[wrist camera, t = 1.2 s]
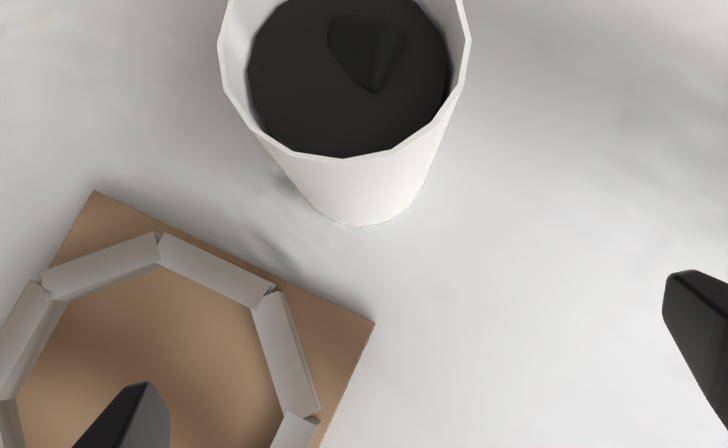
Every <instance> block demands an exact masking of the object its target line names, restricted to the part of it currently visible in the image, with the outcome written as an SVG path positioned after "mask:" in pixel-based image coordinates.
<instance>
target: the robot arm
mask: <svg viewBox="0 0 728 448" xmlns="http://www.w3.org/2000/svg"><path fill="white" fill-rule="evenodd" d="M662 315H663V319H664V322H665V324H666V326H667V328H668V330H669V331H670V333H671V335H672V337H673V339H674V341H675V343H676V344H677V346H678V348H679V350H680V352H681V354H682V355H683V357H684V359H685V361H686V363H687V365H688V366H689V368H690V370H691V372H692V374H693V376H694V378H695V379H696V381H697V383H698V385H699V387H700V388H701V390H702V392H703V394H704V395H705V397H706V399H707V400H708V402H709V403H710V405H711V407H712V408H713V410H714V411H715V413H716V414H717V415H718V417H719V418H720V420H721V421H722V423H723V424H724V426H725V427H726V429H727V430H728V283H726V282H723V281H721V280H719V279H716V278H714V277H712V276H709V275H707V274H705V273H702V272H700V271H697V270H686V271H681V272H676V273H672V274H670V275H669V276H668V278H667V280H666V285H665V292H664V298H663V305H662ZM170 427H171V421H170V415H169V411H168V409H167V407H166V405H165V404H164V402H163V400H162V398H161V396H160V395H159V393H158V391H157V389H156V387H155V386H154V384H153V383H152V382H150V381H142V382H137V383H133V384H129V385H126V386H125V387H124V388H123V389H122V390H121V391H120V392H119V393H118V394H117V395H116V396H115V398H114V399H113V400H112V401H111V402H110V403H109V404H108V406H107V407H106V408H105V409H104V410H103V411H102V413H101V414H100V415H99V416H98V417H97V418H96V419H95V421H94V422H93V423H92V424H91V425H90V426H89V428H88V429H87V430H86V431H85V432H84V433H83V434H82V436H81V437H80V438H79V439H78V440H77V441H76V443H75V444H74V445H73V446H72V447H71V448H170Z"/></svg>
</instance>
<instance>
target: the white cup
mask: <svg viewBox="0 0 728 448" xmlns="http://www.w3.org/2000/svg"><path fill="white" fill-rule="evenodd" d="M471 42H472V39H471V35H470V31H469V27H468V23H467V20H466V16H465V12H464V8H463V4H462V0H229V1H228V4H227V8H226V12H225V15H224V19H223V23H222V26H221V30H220V33H219V37H218V41H217V44H216V45H217V52H218V58H219V65H220V71H221V78H222V84H223V90H224V92H225V93H226V95H227V96H228V98H229V99H230V101H231V102H232V104H233V105H234V107H235V108H236V110H237V111H238V113H239V114H240V116H241V117H242V119H243V120H244V122H245V123H246V125H247V126H248V128H249V129H250V131H251V132H252V133H253V134H254V136H255V137H256V138H257V139H258V140H259V142H260V143H261V144H262V145H263V147H264V148H265V149H266V150H267V152H268V153H269V154H270V155H271V156H272V158H273V159H274V160H275V161H276V163H277V164H278V165H279V166H280V168H281V169H282V170H283V171H284V173H285V174H286V175H287V176H288V177H289V179H290V180H291V181H292V182H293V184H294V185H295V186H296V187H297V189H298V190H299V191H300V192H301V193H302V195H303V196H304V197H305V198H306V200H307V201H308V202H309V203H310V205H311V206H312V207H313V208H314V209H315V210H317V211H318V212H320V213H322V214H323V215H325V216H326V217H328V218H329V219H331V220H332V221H334V222H337V223H342V224H347V225H352V226H358V227H363V226H368V225H373V224H378V223H383V222H387V221H389V220H390V219H392V218H393V217H395V216H396V215H398V214H399V213H401V212H402V211H404V210H405V209H407V208H408V207H409V206H410V205H411V203H412V202H413V200H414V199H415V197H416V196H417V194H418V193H419V191H420V190H421V188H422V187H423V185H424V182H425V180H426V177H427V175H428V172H429V170H430V168H431V165H432V163H433V160H434V158H435V155H436V153H437V150H438V148H439V145H440V143H441V140H442V138H443V135H444V133H445V130H446V128H447V126H448V123H449V121H450V118H451V116H452V113H453V111H454V108H455V106H456V103H457V101H458V98H459V96H460V93H461V91H462V89H463V86H464V80H465V75H466V69H467V64H468V58H469V53H470V47H471Z"/></svg>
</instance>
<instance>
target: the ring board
mask: <svg viewBox="0 0 728 448" xmlns="http://www.w3.org/2000/svg"><path fill="white" fill-rule="evenodd" d="M39 274H40V279H41V282H37V281H31V280H29V282H28V284H27V286H26V287H25V289H24V291H23V292H22V294H21V296H20V298H19V299H18V301H17V303H16V305H15V306H14V308H13V310H12V312H11V313H10V315H9V317H8V318H7V320H6V322H5V324H4V325H3V327H2V329H1V331H0V448H71V447H72V446H73V445H74V444H75V443H76V441H77V440H78V439H79V438H80V437H81V436H82V434H83V433H84V432H85V431H86V430H87V429H88V428H89V426H90V425H91V424H92V423H93V422H94V421H95V419H96V418H97V417H98V416H99V415H100V414H101V413H102V411H103V410H104V409H105V408H106V407H107V406H108V404H109V403H110V402H111V401H112V400H113V399H114V398H115V396H116V395H117V394H118V393H119V392H120V391H121V390H122V389H123V388H124V387H125V386H126V385H129V384H133V383H137V382H142V381H150V382H152V383H153V384H154V386H155V387H156V389H157V391H158V393H159V395H160V396H161V398H162V400H163V402H164V404H165V405H166V407H167V409H168V411H169V415H170V421H171V427H170V448H319V446H320V444H321V442H322V440H323V437H324V435H325V433H326V431H327V429H328V426H329V424H330V422H331V420H332V418H333V416H334V413H335V411H336V409H337V407H338V405H339V402H340V400H341V398H342V396H343V394H344V392H345V389H346V387H347V385H348V383H349V381H350V378H351V376H352V374H353V372H354V370H355V368H356V365H357V363H358V361H359V359H360V357H361V354H362V352H363V350H364V348H365V346H366V344H367V341H368V339H369V337H370V335H371V333H372V330H373V328H374V326H375V323H373V322H371V321H369V320H367V319H365V318H363V317H361V316H358V315H356V314H354V313H352V312H350V311H348V310H346V309H344V308H342V307H339V306H337V305H335V304H333V303H331V302H329V301H327V300H325V299H323V298H320V297H318V296H316V295H314V294H312V293H310V292H308V291H306V290H304V289H301V288H299V287H297V286H295V285H293V284H291V283H289V282H287V281H285V280H283V279H280V278H278V277H276V276H274V275H272V274H270V273H268V272H266V271H264V270H261V269H259V268H257V267H255V266H253V265H251V264H249V263H247V262H245V261H242V260H240V259H238V258H236V257H234V256H232V255H230V254H228V253H226V252H223V251H221V250H219V249H217V248H215V247H213V246H211V245H209V244H207V243H204V242H202V241H200V240H198V239H196V238H194V237H192V236H190V235H188V234H185V233H183V232H181V231H179V230H177V229H175V228H173V227H171V226H169V225H166V224H164V223H162V222H160V221H158V220H156V219H154V218H152V217H150V216H147V215H145V214H143V213H141V212H139V211H137V210H135V209H133V208H131V207H128V206H126V205H124V204H122V203H120V202H118V201H116V200H114V199H112V198H109V197H107V196H105V195H103V194H101V193H99V192H97V191H95V190H93V192H92V194H91V195H90V197H89V199H88V201H87V202H86V204H85V206H84V208H83V209H82V211H81V213H80V215H79V216H78V218H77V220H76V222H75V223H74V225H73V227H72V228H71V230H70V232H69V234H68V235H67V237H66V239H65V241H64V242H63V244H62V246H61V248H60V249H59V251H58V253H57V255H56V256H55V258H54V260H53V262H52V263H51V265H50V267H49V269H47V270H44V271H41V272H39Z"/></svg>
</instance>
